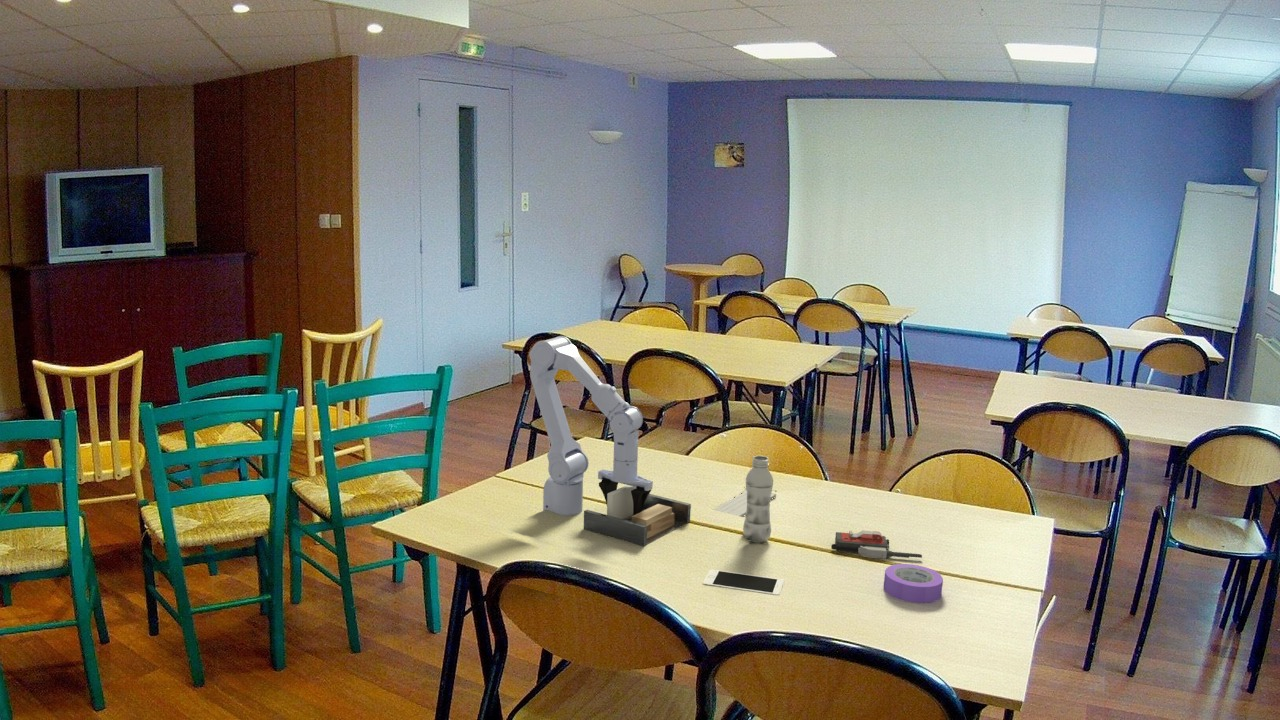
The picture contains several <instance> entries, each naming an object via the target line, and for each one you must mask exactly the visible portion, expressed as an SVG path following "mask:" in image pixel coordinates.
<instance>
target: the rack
mask: <svg viewBox="0 0 1280 720" xmlns="http://www.w3.org/2000/svg"><path fill="white" fill-rule="evenodd" d="M657 504H661V505H665V506H669V507H672V513H674V525H672V526H670V527H668V528H667V529H665V530H663V531H661V532H659V533H657V534H655V535H653V536H651V537H649V538H647V526H646V525H642V524H639V523H635V522H632V516H633V515H631V516H629V517H627V518H624V519H620V518H616V517H613V516H609V515H607V514H605V513H601V512H596V511H595V510H594V511H593V510H590V509H586V510H583V530H584V531H588V532H591V533H595V534H598V535H601V536H605V537H609V538H611V539H612V538H613V539H616V540H620V541H622V542H623V541H624V542H627V543H630V544H632V545H637V546H639V547H640V546H641V547H645V546H647V545H649V544H651V543H653V542H655V541H656V540H659V539H661V538H662V537H664V536H666V535H668V534H670V533H673V531H675V530H677V529H680V528H681V527H683V526H685V525H686V524H689V523H690V522H691V507H692V505H691V503H689V502H684V501H681V500H677V499H673V498H668V497H664V496H660V495H657V494H652V493H649V495H648V497H647V498H646V500H645V503H644V506H643V509H642V511H644V510H646V509H648V508H650V507H652V506H655V505H657Z"/></svg>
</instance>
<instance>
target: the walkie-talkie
mask: <svg viewBox="0 0 1280 720" xmlns="http://www.w3.org/2000/svg"><path fill="white" fill-rule="evenodd" d="M853 532H854V531H853V530H849V532H842V531H840V532H839V531H836V532H835V539H834V541H835V542H834V543H833V544H831V545H830V546H831V549H833V550H835V551H837V552H839V553H850V554H859V555H860V556H862V557H866V558H873V559H882V560H886V559H887V557H889V558H892V557H893V558H896V557H897V558H908V559H909V558H921V559H922V558H923V555H922V554H921V553H912V552H910V553H909V552H901V551H899V552H897V551H892V550H888V549H890V539H888V538H887V537H886V536H885V535H883V534H882V533H881V532H880V531H877V530H876V531H874V530H873V531H872V530H861V531H859V532H857V533H853Z"/></svg>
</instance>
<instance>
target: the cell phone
mask: <svg viewBox="0 0 1280 720" xmlns="http://www.w3.org/2000/svg"><path fill="white" fill-rule="evenodd" d="M784 583H785V579H783V578H776V577H769V576H762V575H756V574H755V575H754V574H746V573H741V572H734V571H726V570H717V569H711V568H710V569H709V571H708V572H707V574H706V576H705V578H704V580H703V582H702V585H703V584H707V585H706V586H710V585H715V586H714V587H717V586H721V587H720V588H724V587H726V588H725V589H731V588H732V589H733V590H738V589H739V591H745V590H747V591H746V592H753V593H759V594H765V595H766V594H767V595H775V596H779V595H780V594H781V592H782V588H783V586H784Z"/></svg>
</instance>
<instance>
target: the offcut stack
mask: <svg viewBox="0 0 1280 720" xmlns="http://www.w3.org/2000/svg"><path fill="white" fill-rule="evenodd" d="M632 522H635V523H639V524H642V525H646V526H647V538H649V537H651V536H653V535H655V534H657V533H659V532H661V531H663V530H665V529H667V528H668V527H670V526H672V525H674V513H672V507H669V506H665V505H661V504H657V505H655V506H652V507H650V508H648V509H646V510H644V511H642V512H640V513H638V514H636V515H634V516H632Z"/></svg>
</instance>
